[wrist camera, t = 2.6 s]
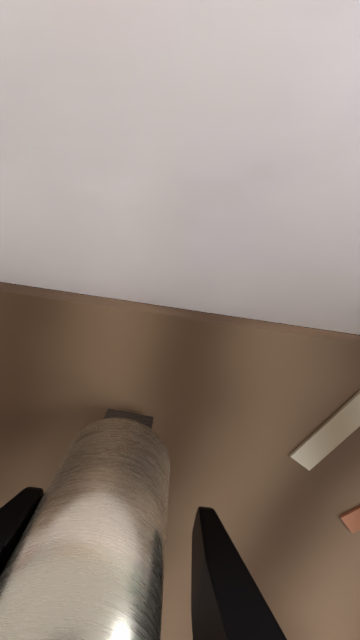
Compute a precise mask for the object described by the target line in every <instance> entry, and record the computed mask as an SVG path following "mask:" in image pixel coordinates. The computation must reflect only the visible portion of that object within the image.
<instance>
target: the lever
mask: <svg viewBox="0 0 360 640" xmlns="http://www.w3.org/2000/svg"><path fill="white" fill-rule="evenodd" d="M153 418H154V417H152V416H146V415H141V414H135V413H130V412H124V411H119V410H113V409H107V412H106V414H105V416H104V419H103V420H99V421H96V422H93V423H91V424H89V425H88V426H86V427H85V428H83V429H82V430H81V431H80V432H79V433H78V434H77V435H76V436H75V438H74V440H73V441H72V443H71V445H70V447H69V449H68V450H67V452H66V454H65V456H64V458H63V460H62V462H61V464H60V465H59V467H58V469H57V471H56V473H55V475H54V477H53V478H52V480H51V482H50V484H49V486H48V488H47V490H46V491H45V493H44V495H43V497H42V499H41V501H40V503H39V504H38V506H37V508H36V510H35V512H34V514H33V516H32V517H31V519H30V521H29V523H28V525H27V527H26V529H25V531H24V532H23V534H22V536H21V538H20V540H19V542H18V544H17V545H16V547H15V549H14V551H13V553H12V555H11V557H10V558H9V560H8V562H7V564H6V566H5V568H4V570H3V571H2V573H1V575H0V640H161V624H162V605H163V587H164V568H165V550H166V531H167V513H168V494H169V476H170V456H169V452H168V449H167V447H166V445H165V443H164V442H163V440H162V439H161V438H160V437H159V435H158V434H157V433H156V432H154V431H153V430H152V424H153Z"/></svg>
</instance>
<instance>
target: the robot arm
mask: <svg viewBox="0 0 360 640" xmlns="http://www.w3.org/2000/svg"><path fill="white" fill-rule="evenodd" d="M43 495H44V490H43V489H42V488H38V487H26V488H24V489H23V490H22V491H21V492H19V493H18V494H17V495H16V496H15V497H13V498H12V499H11V500H10V501H8V502H7V503H6V504H5V505H4V506H2V507H1V508H0V575H1V573H2V571H3V570H4V568H5V566H6V564H7V562H8V560H9V558H10V557H11V555H12V553H13V551H14V549H15V547H16V545H17V544H18V542H19V540H20V538H21V536H22V534H23V532H24V531H25V529H26V527H27V525H28V523H29V521H30V519H31V517H32V516H33V514H34V512H35V510H36V508H37V506H38V504H39V503H40V501H41V499H42V497H43ZM191 618H192V634H193V640H287V638H286V636H285V635H284V633H283V631H282V629H281V627H280V626H279V624H278V622H277V620H276V619H275V617H274V615H273V613H272V611H271V610H270V608H269V606H268V604H267V602H266V601H265V599H264V597H263V595H262V593H261V592H260V590H259V588H258V586H257V585H256V583H255V581H254V579H253V577H252V576H251V574H250V572H249V570H248V568H247V567H246V565H245V563H244V561H243V560H242V558H241V556H240V554H239V552H238V551H237V549H236V547H235V545H234V543H233V542H232V540H231V538H230V536H229V535H228V533H227V531H226V529H225V527H224V526H223V524H222V522H221V520H220V518H219V517H218V515H217V513H216V511H215V510H214V509H213V508H211V507H202V506H200V507H198V509H197V512H196V517H195V521H194V526H193V531H192V564H191Z"/></svg>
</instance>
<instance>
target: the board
mask: <svg viewBox="0 0 360 640" xmlns="http://www.w3.org/2000/svg"><path fill="white" fill-rule="evenodd" d="M107 409H113V410H119V411H124V412H130V413H135V414H141V415H146V416H152V417H154V418H153V424H152V430H153V431H154V432H156V433H157V434H158V435H159V437H160V438H161V439H162V440H163V442H164V443H165V445H166V447H167V449H168V452H169V456H170V476H169V494H168V513H167V531H166V550H165V568H164V587H163V605H162V624H161V640H193V634H192V618H191V564H192V531H193V526H194V521H195V517H196V512H197V509H198V507H200V506H202V507H211V508H213V509H214V510H215V511H216V513H217V515H218V517H219V518H220V520H221V522H222V524H223V526H224V527H225V529H226V531H227V533H228V535H229V536H230V538H231V540H232V542H233V543H234V545H235V547H236V549H237V551H238V552H239V554H240V556H241V558H242V560H243V561H244V563H245V565H246V567H247V568H248V570H249V572H250V574H251V576H252V577H253V579H254V581H255V583H256V585H257V586H258V588H259V590H260V592H261V593H262V595H263V597H264V599H265V601H266V602H267V604H268V606H269V608H270V610H271V611H272V613H273V615H274V617H275V619H276V620H277V622H278V624H279V626H280V627H281V629H282V631H283V633H284V635H285V636H286V638H287V640H360V335H355V334H348V333H341V332H334V331H328V330H321V329H314V328H307V327H301V326H294V325H287V324H280V323H273V322H267V321H260V320H253V319H246V318H240V317H233V316H226V315H219V314H213V313H206V312H199V311H192V310H186V309H179V308H172V307H165V306H158V305H152V304H145V303H138V302H131V301H125V300H118V299H111V298H104V297H98V296H91V295H84V294H77V293H71V292H64V291H57V290H50V289H43V288H37V287H30V286H23V285H16V284H10V283H3V282H0V508H1V507H2V506H4V505H5V504H6V503H7V502H8V501H10V500H11V499H12V498H13V497H15V496H16V495H17V494H18V493H19V492H21V491H22V490H23V489H24V488H26V487H38V488H42V489H43V490H44V493H45V491H46V490H47V488H48V486H49V484H50V482H51V480H52V478H53V477H54V475H55V473H56V471H57V469H58V467H59V465H60V464H61V462H62V460H63V458H64V456H65V454H66V452H67V450H68V449H69V447H70V445H71V443H72V441H73V440H74V438H75V436H76V435H77V434H78V433H79V432H80V431H81V430H82V429H83V428H85V427H86V426H88V425H89V424H91V423H93V422H96V421H99V420H103V419H104V416H105V414H106V412H107Z"/></svg>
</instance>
